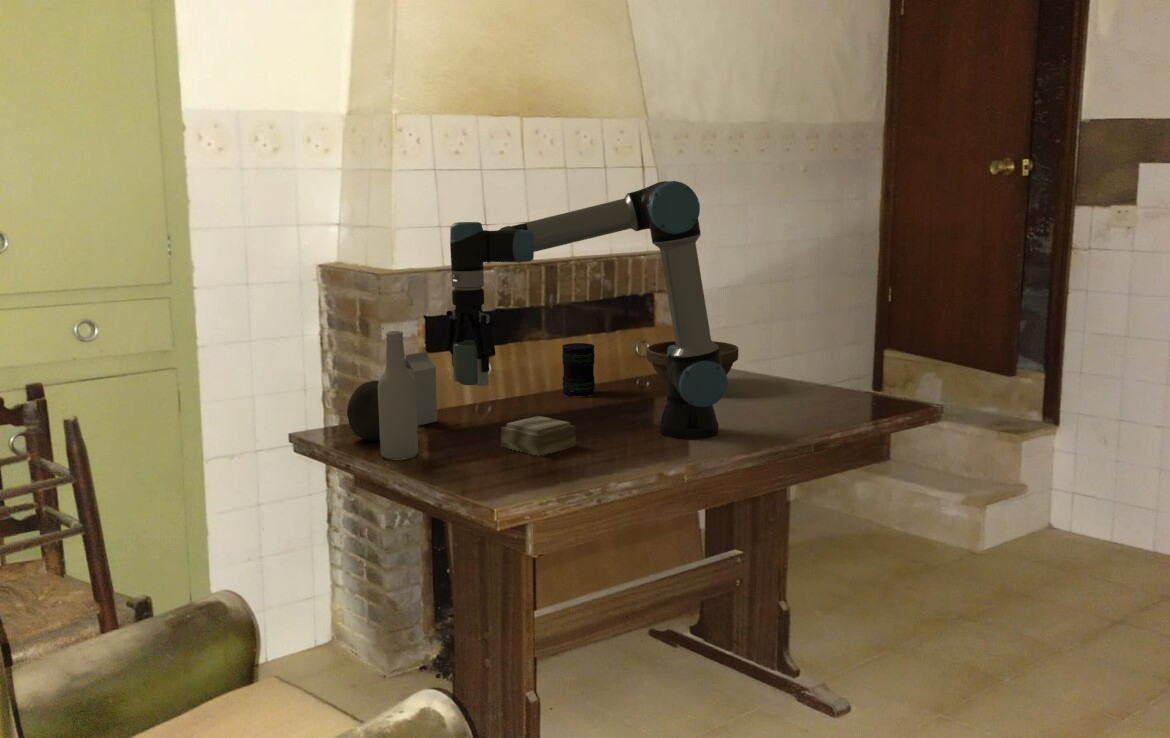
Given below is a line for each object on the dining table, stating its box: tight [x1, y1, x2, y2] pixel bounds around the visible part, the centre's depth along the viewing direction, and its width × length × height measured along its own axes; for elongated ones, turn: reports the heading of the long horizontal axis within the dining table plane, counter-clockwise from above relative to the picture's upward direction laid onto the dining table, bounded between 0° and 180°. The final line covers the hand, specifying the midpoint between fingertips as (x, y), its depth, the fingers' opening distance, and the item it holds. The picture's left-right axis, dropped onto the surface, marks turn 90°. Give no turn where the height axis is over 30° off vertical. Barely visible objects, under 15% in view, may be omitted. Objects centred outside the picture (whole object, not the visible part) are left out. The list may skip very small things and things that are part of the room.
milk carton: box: [405, 351, 438, 427], centre depth 284 cm, size 7×7×19 cm
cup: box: [453, 339, 484, 386], centre depth 251 cm, size 8×8×10 cm
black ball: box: [346, 380, 380, 442], centre depth 266 cm, size 14×14×15 cm
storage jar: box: [561, 342, 596, 397], centre depth 319 cm, size 10×10×15 cm
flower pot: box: [645, 340, 740, 385], centre depth 326 cm, size 28×28×13 cm
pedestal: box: [500, 415, 577, 457], centre depth 259 cm, size 13×13×6 cm
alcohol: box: [378, 330, 419, 459], centre depth 249 cm, size 9×9×30 cm
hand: (471, 382), depth 252 cm, fingers closed on cup, 8 cm apart
